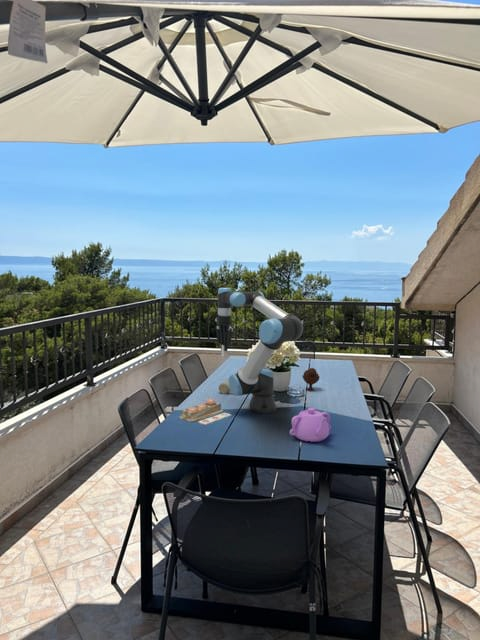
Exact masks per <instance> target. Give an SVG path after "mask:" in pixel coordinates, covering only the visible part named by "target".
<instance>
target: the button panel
mask: <svg viewBox="0 0 480 640" xmlns="http://www.w3.org/2000/svg"><path fill="white" fill-rule="evenodd" d="M202 404H204V405H206V408H203V409H200V408H197V405H198V404H196V405H193V406H192V407H195V408H197V411H194V412H190V411H188V408H189V407H187V408H184V409H181V415H179V417H178V418H179V419H181V420H183V421H187V422H190V423H194V422H199V421H201V420H204V419H207V418H210V417H213V416H216V415H219V414H222V413H224V410H223V409H222V403H218V402H215V405H213V406H209V405H207V401H206V402H204V403H202Z"/></svg>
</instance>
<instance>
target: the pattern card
mask: <svg viewBox="0 0 480 640" xmlns="http://www.w3.org/2000/svg"><path fill="white" fill-rule="evenodd" d="M229 417H232V414H231V413H227V412H222V413H219V414H216V415H213V416H210V417H207V418H204V419H201V420H198V421H197V422H198V424H201V425H204V426H206V425H209V424H213V423H214V422H218V421H220V420H223V419H226V418H229Z"/></svg>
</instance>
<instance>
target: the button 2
mask: <svg viewBox="0 0 480 640" xmlns="http://www.w3.org/2000/svg"><path fill="white" fill-rule="evenodd" d="M206 402H207V405H209V406H213V405H215V403H216V399H215V398H212V397H210V398H207V399H206Z"/></svg>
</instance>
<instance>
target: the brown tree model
mask: <svg viewBox="0 0 480 640" xmlns="http://www.w3.org/2000/svg"><path fill="white" fill-rule="evenodd" d="M302 379H303V381H304V382H305V383H306V384H308V386H309V387H308V388H306V391H307V390H308V391H307V392H315V391H314V390H315V388H313V385H314V384H316V383H317V382H318V381H319V380H320V375H319V373H318V372H317V369H316V368H314V367H310V368H309V369H307V370H304V372H303V375H302Z"/></svg>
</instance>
